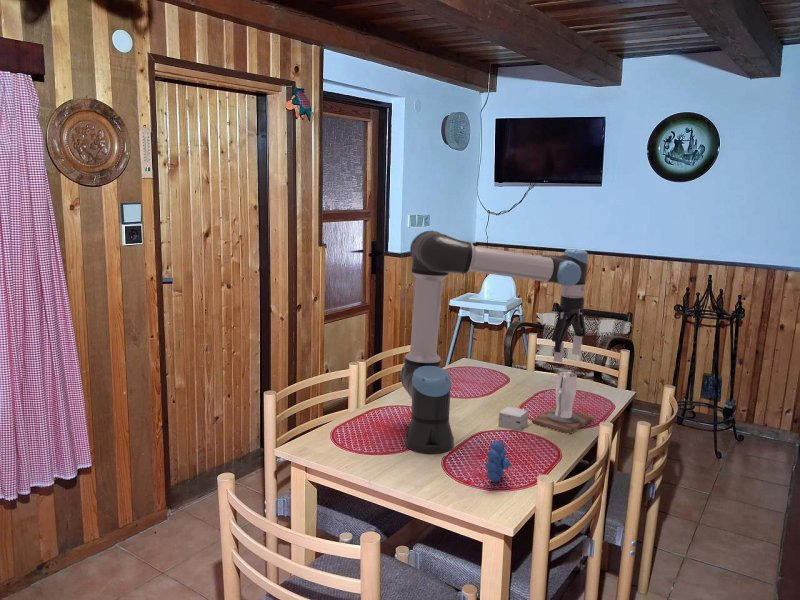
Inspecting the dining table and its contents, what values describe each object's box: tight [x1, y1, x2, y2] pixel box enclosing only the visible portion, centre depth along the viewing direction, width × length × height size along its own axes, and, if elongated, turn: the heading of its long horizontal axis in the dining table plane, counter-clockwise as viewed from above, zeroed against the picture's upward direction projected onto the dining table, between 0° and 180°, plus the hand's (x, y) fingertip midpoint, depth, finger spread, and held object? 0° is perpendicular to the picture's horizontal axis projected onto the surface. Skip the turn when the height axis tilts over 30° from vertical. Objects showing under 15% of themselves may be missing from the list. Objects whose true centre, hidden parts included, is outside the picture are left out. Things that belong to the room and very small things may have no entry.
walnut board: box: [531, 407, 595, 435], centre depth 227 cm, size 18×14×2 cm
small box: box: [498, 405, 529, 431], centre depth 223 cm, size 8×8×5 cm
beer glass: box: [554, 371, 578, 419], centre depth 225 cm, size 7×7×15 cm
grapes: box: [484, 440, 512, 483], centre depth 178 cm, size 12×7×12 cm, turn 153°
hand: (567, 358), depth 223 cm, fingers open, 13 cm apart
